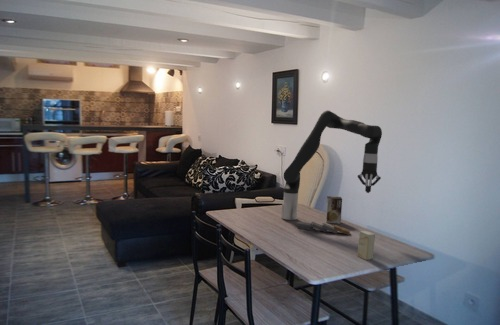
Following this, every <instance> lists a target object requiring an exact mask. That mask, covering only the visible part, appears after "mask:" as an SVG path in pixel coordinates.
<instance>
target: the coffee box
mask: <svg viewBox="0 0 500 325" xmlns="http://www.w3.org/2000/svg"><path fill="white" fill-rule="evenodd" d="M325 208H326V209H325V224H326V223H327V224H342V223H341V222H342V209H343V198H342V197H341V196H331V195H330V196H329V195H328V196H326V207H325Z"/></svg>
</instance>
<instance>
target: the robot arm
mask: <svg viewBox="0 0 500 325" xmlns="http://www.w3.org/2000/svg"><path fill="white" fill-rule="evenodd" d="M326 128H329V129H338V130H344V131H347V132H349V133H353V134H356V135H360V136H361V137H363V138H367V139H369V140H368V142H366V143H365V144H364V152H363V153H364V154H363V160H362V171H361V172H360V174H358V175H357V178H358V180H359V181H360V183H361V184H362V185H364V186H365V192H366V194H370V193H371V190H372V187H373V186H375V185H376V184H377V183H378V182H379V181H380V180H381V179H382V178H381V176H380V175H378V159H379V156H378V155H379V154H378V153H379V152H378V151H379V145H380V143H381V140H382V135H383V132H382V128H381V127H380V126H379V125H370V124H366V123H364V122H361V121H357V120H355V119H354V120H353V119H346V118H343V117H340V116H339V115H338V114H336V113H334V112H332V111H331V110H325V111H323V112H322V113H321V114H320V116H319V117H318V119H317V120H316V123H315V124H314V126H313V129H312V130H311V132H310V134H309V135H308V137H307V138H306V140H305V141H304V142H303V144H302V145H301V147H300V149H299V151H298V152H297V154H296V156H295V157H294V159H293V161H292V162H291V163H290V164H289V166H288V167H287V168H286V169H285V170H284V172H283V179H284V180H285V184H284V187H283V202H282V204H281V219H283V220H286V221H287V220H288V221H296V220H297V219H298V204H299V190H300V185H301V171H302V169H303V168H304V166H305V165H307V163H308V162H309V161H310V160H311V159H312V158H313V156H314V155H315V154H316V153H317V151H318V150H319V148H320V143H321V138H322V134H323V132H324V130H325V129H326Z"/></svg>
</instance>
